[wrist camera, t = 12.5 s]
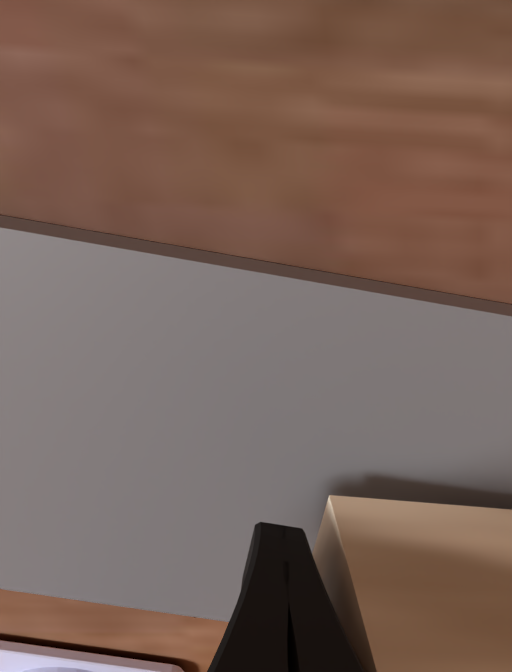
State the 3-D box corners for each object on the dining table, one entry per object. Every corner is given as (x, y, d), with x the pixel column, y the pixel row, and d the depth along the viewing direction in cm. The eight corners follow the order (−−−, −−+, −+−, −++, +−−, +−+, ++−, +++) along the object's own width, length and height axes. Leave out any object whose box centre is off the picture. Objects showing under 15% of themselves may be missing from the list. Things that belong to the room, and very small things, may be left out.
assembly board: (740, 669, 17) (766, 699, 17) (-242, 525, 16) (-272, 549, 15) (1010, 391, 12) (1068, 413, 12) (-378, 148, 11) (-436, 151, 10)
